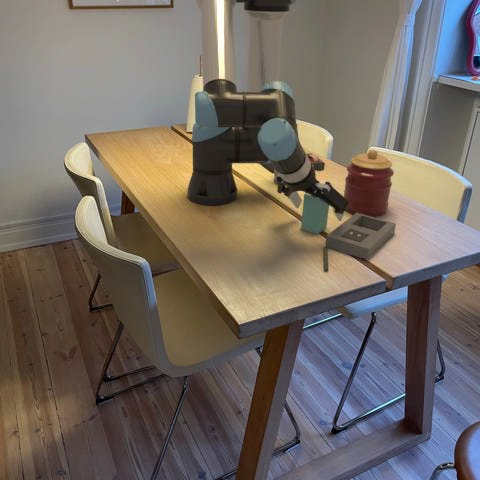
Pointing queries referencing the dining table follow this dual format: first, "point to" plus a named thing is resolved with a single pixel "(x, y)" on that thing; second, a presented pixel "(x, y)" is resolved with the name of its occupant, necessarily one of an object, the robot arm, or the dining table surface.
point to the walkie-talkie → (316, 162)
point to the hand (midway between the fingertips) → (319, 210)
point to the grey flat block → (360, 235)
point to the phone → (268, 167)
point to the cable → (325, 258)
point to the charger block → (314, 214)
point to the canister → (368, 184)
